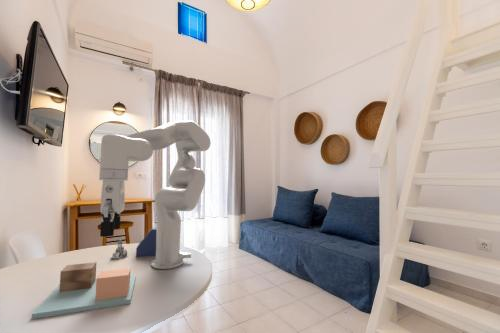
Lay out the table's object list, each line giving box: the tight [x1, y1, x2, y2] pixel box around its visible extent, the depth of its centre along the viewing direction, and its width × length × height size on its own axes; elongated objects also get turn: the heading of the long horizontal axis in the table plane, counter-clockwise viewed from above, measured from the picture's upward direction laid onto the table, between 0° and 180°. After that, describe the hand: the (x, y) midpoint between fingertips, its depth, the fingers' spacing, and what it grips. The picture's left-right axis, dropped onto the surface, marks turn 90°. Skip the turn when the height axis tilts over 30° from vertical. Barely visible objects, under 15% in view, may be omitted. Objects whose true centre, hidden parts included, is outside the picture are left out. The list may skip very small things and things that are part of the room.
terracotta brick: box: [95, 267, 131, 301], centre depth 69 cm, size 8×6×6 cm
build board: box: [31, 274, 137, 320], centre depth 71 cm, size 22×18×1 cm
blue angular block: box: [135, 227, 157, 258], centre depth 112 cm, size 12×12×12 cm
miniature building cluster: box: [109, 239, 128, 260], centre depth 104 cm, size 9×9×8 cm
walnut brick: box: [59, 262, 97, 292], centre depth 74 cm, size 8×6×6 cm
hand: (110, 232), depth 71 cm, fingers open, 9 cm apart
